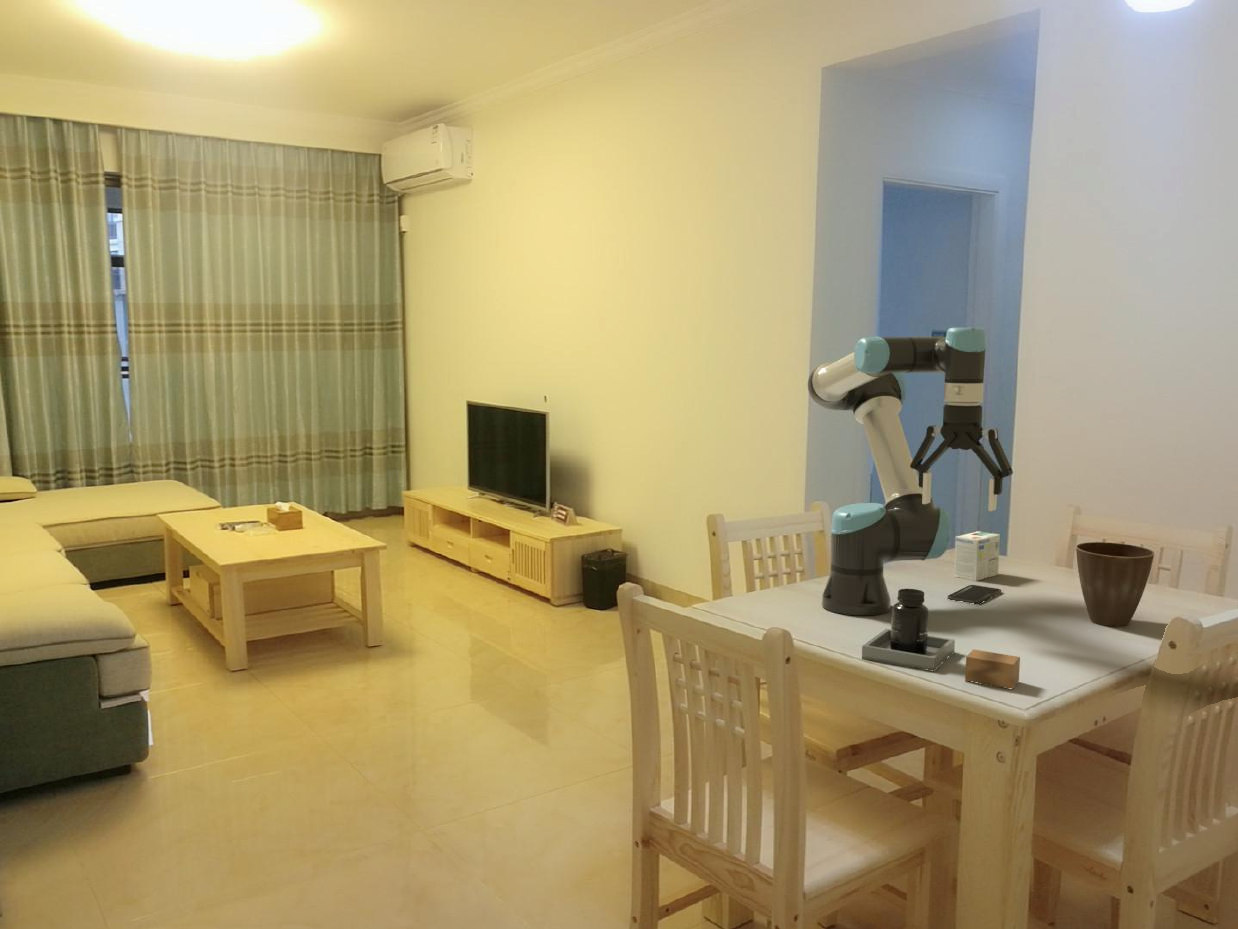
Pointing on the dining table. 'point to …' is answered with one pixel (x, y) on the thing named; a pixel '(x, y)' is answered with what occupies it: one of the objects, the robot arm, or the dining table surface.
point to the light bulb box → (976, 555)
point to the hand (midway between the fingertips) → (958, 506)
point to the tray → (931, 660)
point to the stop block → (992, 668)
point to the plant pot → (1112, 580)
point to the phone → (974, 594)
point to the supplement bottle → (909, 622)
